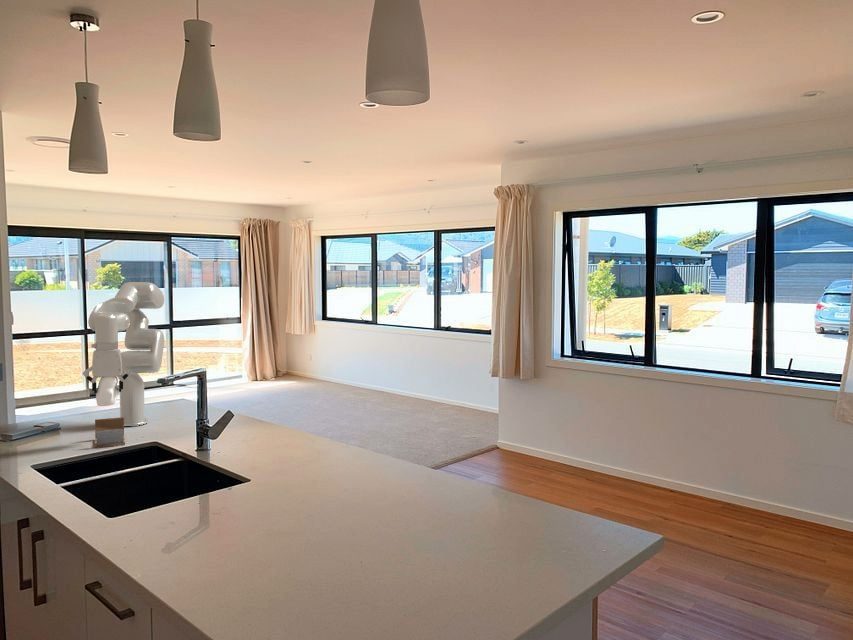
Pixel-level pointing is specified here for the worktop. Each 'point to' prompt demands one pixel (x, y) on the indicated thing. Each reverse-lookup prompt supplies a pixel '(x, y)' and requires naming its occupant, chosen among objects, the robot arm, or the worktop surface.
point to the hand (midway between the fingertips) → (107, 391)
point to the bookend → (109, 436)
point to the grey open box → (109, 428)
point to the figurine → (107, 391)
